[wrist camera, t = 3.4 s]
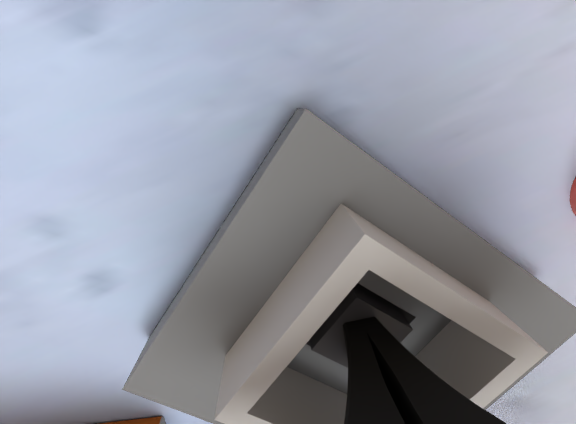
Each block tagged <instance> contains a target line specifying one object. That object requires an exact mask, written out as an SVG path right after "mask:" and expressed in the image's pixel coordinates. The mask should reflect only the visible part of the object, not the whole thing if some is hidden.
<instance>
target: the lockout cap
mask: <svg viewBox="0 0 576 424" xmlns="http://www.w3.org/2000/svg"><path fill="white" fill-rule="evenodd" d="M570 204H571V208H572V211H573V213H574V214H575V215H576V177H575V179H574V181H573V184H572V187H571V192H570Z"/></svg>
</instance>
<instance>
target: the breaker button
mask: <svg viewBox="0 0 576 424" xmlns="http://www.w3.org/2000/svg"><path fill="white" fill-rule="evenodd" d="M370 317H376V318H377V319H378V320H379V321H380V322H381V323H382V325H383V326H384V327H385V328H386V329H387V330H388V331H389V332H390V333H391V334H392V335H393V336H394V337H395V338H396V339H397V340H398V341H399V342H400V343H401V342H402V341H403V340H404V339H405V337H406V336H407V335H408V334H409V333H410V332H411V331H412V330H413V329H412V327H411V326H410V324H409V323H408V321H407V320H406V318H405V317H404V315H403V314H402V312H401V311H400V309H399V308H398V306H396V305H394V304H392V303H391V302H389V301H387V300H386V299H384V298H382V297H381V296H379V295H377V294H375V293H374V292H372V291H370V290H369V289H367V288H365V287H364V286H362V285H360V284H358V283H357V284H356V285H355V286H354V288H353V289H352V290H351V291H350V292H349V294H348V295H347V296H346V297H345V298H344V299H343V301H342V302H341V303H340V304H339V305H338V307H337V308H336V309H335V310H334V311H333V312H332V314H331V315H330V316H329V317H328V318H327V319H326V321H325V322H324V323H323V324H322V325H321V327H320V328H319V329H318V330H317V331H316V332H315V334H314V335H313V336H312V337H311V338H310V345H311V350H312V351H314V352H316V353H318V354H320V355H322V356H324V357H326V358H328V359H330V360H333V361H335V362H337V363H339V364H341V365H343V366H345V367H347V368H348V357H347V351H346V344H345V338H344V331H343V324H344V323H345V322H350V321H355V320H360V319H365V318H370Z"/></svg>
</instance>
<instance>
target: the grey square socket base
mask: <svg viewBox="0 0 576 424" xmlns="http://www.w3.org/2000/svg"><path fill="white" fill-rule="evenodd" d="M357 283H358V284H360V285H362V286H364V287H365V288H367V289H369V290H370V291H372V292H374V293H375V294H377V295H379V296H381V297H382V298H384V299H386V300H387V301H389V302H391V303H392V304H394V305H396V306H398V308H399V309H400V311H401V312H402V314H403V315H404V317H405V318H406V320H407V321H408V323H409V324H410V326H411V327H412V329H413V330H412V331H411V332H410V333H409V334H408V335H407V336H406V337H405V339H404V340H403V341H402V342H401V344H402V345H403V346H404V347H405V348H406V349H407V350H408V351H410V352H411V353H412V354H413V355H414V356H415V357H416V358H417V359H418V360H419V361H421V362H422V363H423V364H424V365H425V366H426V367H428V368H429V369H430V370H431V371H432V372H434V373H435V374H436V375H437V376H438V377H440V378H441V379H442V380H444V381H445V382H446V383H447V384H449V385H450V386H451V387H453V388H454V389H455V390H457V391H458V392H459V393H461V394H462V395H464V396H465V397H467V398H468V399H469V400H471V401H472V402H474V403H475V404H477V405H478V406H480V407H481V408H483V409H484V410H486V409H487V408H488V407H489V406H491V405H492V404H493V403H494V402H495V401H496V400H498V399H499V398H500V397H501V396H502V395H503V394H505V393H506V392H507V391H508V390H509V389H510V388H512V387H513V386H514V385H515V384H516V383H517V382H519V381H520V380H521V379H522V378H523V377H525V376H526V375H527V374H528V373H529V372H530V371H532V370H533V369H534V368H535V367H536V366H537V365H539V364H540V363H541V362H542V361H543V360H544V359H546V358H547V357H548V356H549V355H550V354H551V353H553V352H554V351H555V350H556V349H557V348H559V347H560V346H561V345H562V344H563V343H564V342H566V341H567V340H568V339H569V338H570V337H571V336H573V335H574V334H575V333H576V307H575V306H573V305H572V304H570V303H569V302H568V301H566V300H565V299H564V298H562V297H561V296H560V295H558V294H557V293H556V292H554V291H553V290H551V289H550V288H549V287H547V286H546V285H545V284H543V283H542V282H541V281H539V280H538V279H537V278H535V277H534V276H532V275H531V274H530V273H528V272H527V271H526V270H524V269H523V268H522V267H520V266H519V265H518V264H516V263H515V262H514V261H512V260H511V259H509V258H508V257H507V256H505V255H504V254H503V253H501V252H500V251H499V250H497V249H496V248H495V247H493V246H492V245H490V244H489V243H488V242H486V241H485V240H484V239H482V238H481V237H480V236H478V235H477V234H476V233H474V232H473V231H471V230H470V229H469V228H467V227H466V226H465V225H463V224H462V223H461V222H459V221H458V220H457V219H455V218H454V217H452V216H451V215H450V214H448V213H447V212H446V211H444V210H443V209H442V208H440V207H439V206H438V205H436V204H435V203H434V202H432V201H431V200H429V199H428V198H427V197H425V196H424V195H423V194H421V193H420V192H419V191H417V190H416V189H415V188H413V187H412V186H410V185H409V184H408V183H406V182H405V181H404V180H402V179H401V178H400V177H398V176H397V175H396V174H394V173H393V172H391V171H390V170H389V169H387V168H386V167H385V166H383V165H382V164H381V163H379V162H378V161H377V160H375V159H374V158H372V157H371V156H370V155H368V154H367V153H366V152H364V151H363V150H362V149H360V148H359V147H358V146H356V145H355V144H354V143H352V142H351V141H349V140H348V139H347V138H345V137H344V136H343V135H341V134H340V133H339V132H337V131H336V130H335V129H333V128H332V127H330V126H329V125H328V124H326V123H325V122H324V121H322V120H321V119H320V118H318V117H317V116H316V115H314V114H313V113H311V112H310V111H309V110H307V109H297V110H296V111H295V113H294V114H293V116H292V117H291V119H290V120H289V122H288V124H287V125H286V127H285V128H284V130H283V131H282V133H281V134H280V136H279V137H278V139H277V141H276V142H275V144H274V145H273V147H272V148H271V150H270V151H269V153H268V155H267V156H266V158H265V159H264V161H263V162H262V164H261V165H260V167H259V168H258V170H257V172H256V173H255V175H254V176H253V178H252V179H251V181H250V182H249V184H248V185H247V187H246V189H245V190H244V192H243V193H242V195H241V196H240V198H239V199H238V201H237V202H236V204H235V206H234V207H233V209H232V210H231V212H230V213H229V215H228V216H227V218H226V220H225V221H224V223H223V224H222V226H221V227H220V229H219V230H218V232H217V233H216V235H215V237H214V238H213V240H212V241H211V243H210V244H209V246H208V247H207V249H206V250H205V252H204V254H203V255H202V257H201V258H200V260H199V261H198V263H197V264H196V266H195V267H194V269H193V271H192V272H191V274H190V275H189V277H188V278H187V280H186V281H185V283H184V285H183V286H182V288H181V289H180V291H179V292H178V294H177V295H176V297H175V298H174V300H173V302H172V303H171V305H170V306H169V308H168V309H167V311H166V312H165V314H164V315H163V317H162V319H161V320H160V322H159V323H158V325H157V326H156V328H155V329H154V331H153V333H152V334H151V336H150V337H149V339H148V341H147V343H146V345H145V347H144V348H143V350H142V352H141V354H140V356H139V358H138V360H137V362H136V364H135V366H134V368H133V370H132V372H131V373H130V375H129V377H128V379H127V381H126V383H125V385H124V387H123V389H122V390H125V391H127V392H130V393H133V394H136V395H138V396H141V397H144V398H146V399H149V400H152V401H154V402H157V403H160V404H162V405H165V406H168V407H170V408H173V409H176V410H178V411H181V412H184V413H186V414H189V415H192V416H195V417H197V418H200V419H203V420H205V421H208V422H211V423H213V424H344V420H345V411H346V402H347V388H348V368H347V367H345V366H343V365H341V364H339V363H337V362H335V361H333V360H330V359H328V358H326V357H324V356H322V355H320V354H318V353H316V352H314V351H312V350H311V345H310V338H311V337H312V336H313V335H314V334H315V332H316V331H317V330H318V329H319V328H320V327H321V325H322V324H323V323H324V322H325V321H326V319H327V318H328V317H329V316H330V315H331V314H332V312H333V311H334V310H335V309H336V308H337V307H338V305H339V304H340V303H341V302H342V301H343V299H344V298H345V297H346V296H347V295H348V294H349V292H350V291H351V290H352V289H353V288H354V286H355V285H356V284H357Z"/></svg>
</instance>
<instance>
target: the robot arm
mask: <svg viewBox="0 0 576 424" xmlns="http://www.w3.org/2000/svg"><path fill="white" fill-rule="evenodd" d="M343 331H344V338H345V344H346V351H347V357H348V388H347V402H346V411H345V420H344V424H506V423H505V422H503V421H502V420H500V419H498V418H497V417H495V416H494V415H492V414H491V413H489V412H487V411H486V410H484V409H483V408H481V407H480V406H478V405H477V404H475V403H474V402H472V401H471V400H469V399H468V398H467V397H465V396H464V395H462V394H461V393H459V392H458V391H457V390H455V389H454V388H453V387H451V386H450V385H449V384H447V383H446V382H445V381H444V380H442V379H441V378H440V377H438V376H437V375H436V374H435V373H434V372H432V371H431V370H430V369H429V368H428V367H426V366H425V365H424V364H423V363H422V362H421V361H419V360H418V359H417V358H416V357H415V356H414V355H413V354H412V353H411V352H410V351H408V350H407V349H406V348H405V347H404V346H403V345H402V344H401V343H400V342H399V341H398V340H397V339H396V338H395V337H394V336H393V335H392V334H391V333H390V332H389V331H388V330H387V329H386V328H385V327H384V326H383V325H382V323H381V322H380V321H379V320H378V319H377V318H376V317H370V318H365V319H360V320H355V321H350V322H345V323H344V324H343Z"/></svg>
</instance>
